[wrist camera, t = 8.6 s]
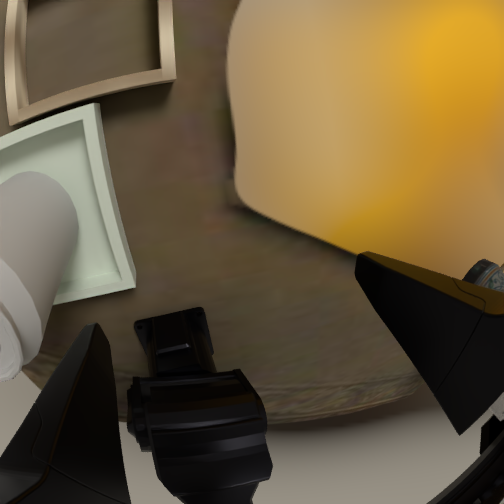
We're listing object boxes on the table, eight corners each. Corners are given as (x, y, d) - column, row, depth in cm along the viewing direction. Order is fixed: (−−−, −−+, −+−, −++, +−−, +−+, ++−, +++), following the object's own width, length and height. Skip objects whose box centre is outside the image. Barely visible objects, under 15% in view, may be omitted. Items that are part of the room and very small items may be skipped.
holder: (173, 81, 16) (176, 78, 14) (21, 123, 13) (9, 126, 11) (169, -49, 10) (172, -62, 8) (20, -9, 7) (11, -16, 6)
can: (17, 273, 17) (-34, 394, 7) (-15, 186, 13) (-113, 275, 3) (93, 252, 19) (66, 390, 9) (66, 154, 15) (-28, 230, 5)
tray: (136, 271, 21) (135, 287, 20) (9, 300, 18) (2, 315, 17) (99, 103, 15) (93, 103, 13) (-42, 161, 12) (-56, 168, 10)
